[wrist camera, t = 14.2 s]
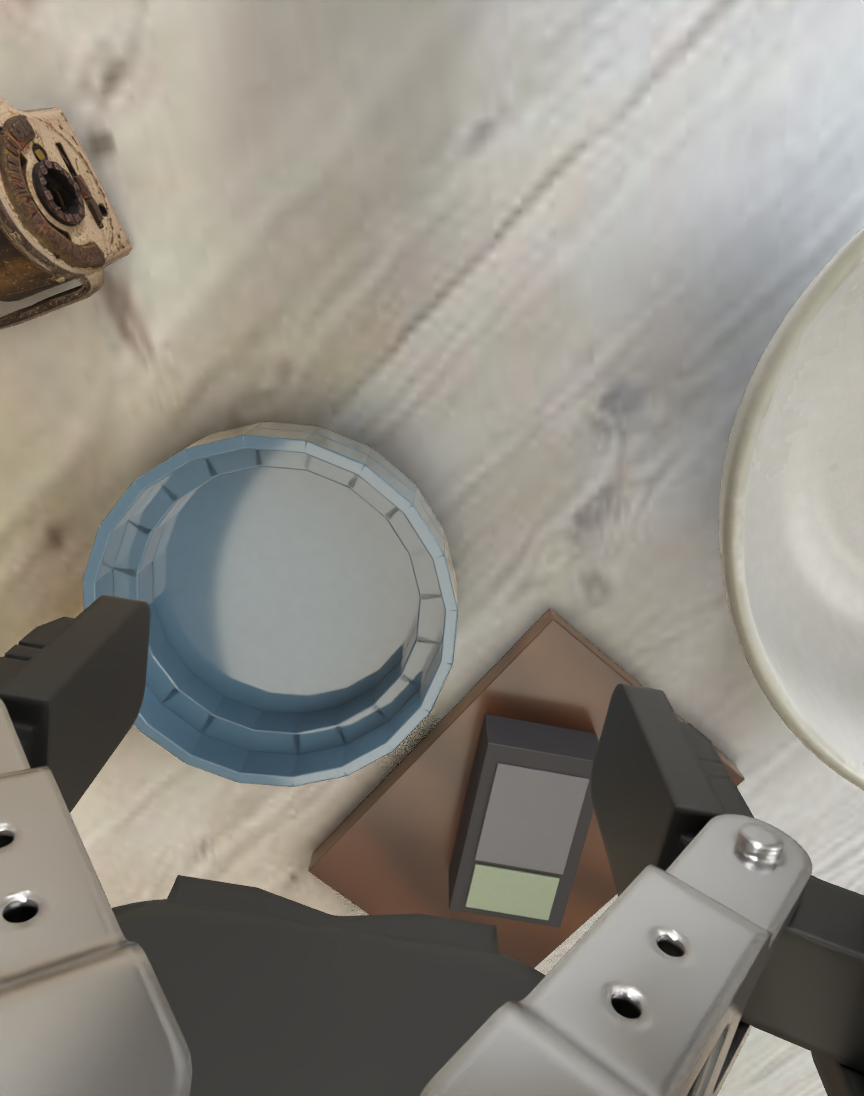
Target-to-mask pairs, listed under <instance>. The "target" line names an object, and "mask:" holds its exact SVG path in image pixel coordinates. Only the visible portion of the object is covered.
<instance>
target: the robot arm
mask: <svg viewBox="0 0 864 1096" xmlns="http://www.w3.org/2000/svg"><path fill="white" fill-rule="evenodd" d="M150 621H151V611H150V606H149V603H148V602H144V601H138V600H132V599H126V598H120V597H114V596H108V595H101V596H100V597H98V598H97V599H96V600H95V601H94V602H93V603H92V604H91V605H90V606H88V607H87V608H86V609H85V610H84V611H83V612H82V613H81V614H80V615H79V616H77V617H76V618H75V619H74V618H68V617H62V618H60V619H57V620H54V621H52V622H49V623H46V624H44V625H41V626H39V627H36V628H35V629H34V630H33V631H31V632H30V633H29V634H28V635H27V636H25V637H24V638H23V639H22V640H21V641H20V642H19V645H15V646H14V647H12V648H11V649H10V650H9V651H8V652H6V653H5V656H4V657H1V658H0V1096H717V1095H718V1093H719V1091H720V1089H721V1087H722V1085H723V1083H724V1081H725V1079H726V1077H727V1075H728V1073H729V1071H730V1069H731V1068H732V1066H733V1064H734V1062H735V1060H736V1058H737V1056H738V1054H739V1052H740V1050H741V1048H742V1046H743V1044H744V1042H745V1041H746V1039H747V1037H748V1035H749V1032H750V1030H751V1027H752V1026H753V1027H756V1028H758V1029H760V1030H763V1031H765V1032H768V1033H770V1034H772V1035H775V1036H777V1037H779V1038H782V1039H784V1040H786V1041H789V1042H791V1043H794V1044H796V1045H798V1046H801V1047H803V1048H805V1049H808V1050H810V1051H811V1053H812V1057H813V1060H814V1063H815V1066H816V1068H817V1070H818V1073H819V1075H820V1078H821V1080H822V1083H823V1085H824V1088H825V1090H826V1093H827V1095H828V1096H864V895H861V894H858V893H855V892H853V891H850V890H847V889H844V888H842V887H839V886H836V885H833V884H831V883H828V882H826V881H823V880H821V879H818V878H816V877H814V876H812V875H811V872H812V863H811V860H810V858H809V856H808V854H807V853H806V851H805V850H804V849H803V848H802V847H801V846H800V845H799V844H798V843H797V842H796V841H795V840H794V839H793V838H791V837H790V836H789V835H787V834H786V833H784V832H783V831H781V830H779V829H778V828H776V827H774V826H772V825H770V824H768V823H766V822H763V821H760V820H758V819H755V818H754V817H753V815H752V813H751V811H750V810H749V808H748V806H747V804H746V803H745V801H744V799H743V797H742V796H741V794H740V792H739V790H738V789H737V787H736V785H735V783H734V782H733V780H730V774H729V773H728V771H727V769H726V767H725V766H724V764H721V761H722V760H721V759H720V757H719V755H718V753H717V752H716V750H715V748H714V746H713V745H712V743H711V741H709V740H708V739H707V738H706V737H705V736H704V735H702V734H701V733H700V732H699V731H698V730H697V729H696V728H694V727H693V726H692V725H691V724H690V723H684V722H679V720H678V718H677V716H676V714H675V713H674V711H673V709H672V707H671V705H670V703H669V701H668V699H667V697H666V695H665V694H664V692H663V691H661V690H656V689H650V688H644V687H638V686H632V685H626V684H618V685H617V686H616V687H615V689H614V691H613V694H612V696H611V700H610V703H609V707H608V711H607V714H606V718H605V722H604V725H603V729H602V733H601V736H600V740H599V744H598V747H597V751H596V754H595V758H594V762H593V767H592V773H591V798H592V803H593V806H594V810H595V814H596V817H597V821H598V824H599V828H600V832H601V835H602V839H603V843H604V846H605V850H606V853H607V857H608V861H609V864H610V868H611V872H612V875H613V879H614V883H615V886H616V890H617V893H618V898H617V899H616V900H615V901H614V902H613V903H612V905H611V906H610V907H609V908H608V909H607V910H606V911H605V912H604V913H603V914H602V915H601V916H600V918H599V919H598V920H597V921H596V922H595V923H594V924H593V925H592V926H591V927H590V928H589V929H588V931H587V932H586V933H585V934H584V935H583V936H582V937H581V938H580V939H579V940H578V941H577V943H576V944H575V945H574V946H573V947H572V948H571V949H570V950H569V951H568V952H567V953H566V954H565V956H564V957H563V958H562V959H561V960H560V961H559V962H558V963H557V964H556V965H555V966H554V967H553V969H552V970H551V971H550V972H549V973H548V974H547V975H546V976H545V975H543V974H542V973H540V972H539V971H537V970H535V969H534V968H532V967H530V966H529V965H527V964H525V963H523V962H521V961H519V960H517V959H515V958H513V957H511V956H509V955H506V954H504V953H501V952H498V941H497V927H496V925H489V924H483V923H477V922H470V921H464V920H458V919H451V918H445V917H439V916H432V915H426V914H420V913H416V914H391V915H366V916H334V915H330V914H327V913H324V912H321V911H319V910H316V909H313V908H311V907H308V906H305V905H302V904H300V903H297V902H294V901H292V900H289V899H286V898H283V897H281V896H278V895H275V894H273V893H270V892H267V891H265V890H262V889H259V888H256V887H249V886H243V885H237V884H230V883H224V882H218V881H211V880H205V879H199V878H193V877H186V876H180V875H178V876H177V878H176V881H175V883H174V885H173V887H172V889H171V892H170V894H169V896H168V898H167V899H163V900H151V901H144V902H136V903H131V904H127V905H122V906H118V907H114V908H111V906H110V904H109V902H108V899H107V897H106V895H105V892H104V890H103V888H102V886H101V883H100V881H99V879H98V876H97V874H96V872H95V870H94V867H93V865H92V863H91V861H90V858H89V856H88V854H87V851H86V849H85V847H84V845H83V842H82V840H81V838H80V835H79V833H78V831H77V829H76V826H75V824H74V822H73V819H72V817H71V815H70V812H71V811H72V810H73V808H74V807H75V805H76V804H77V803H78V801H79V800H80V798H81V797H82V796H83V794H84V793H85V791H86V790H87V789H88V787H89V786H90V784H91V783H92V782H93V780H94V779H95V777H96V776H97V774H98V773H99V772H100V770H101V769H102V767H103V766H104V765H105V763H106V762H107V760H108V759H109V758H110V756H111V755H112V753H113V752H114V751H115V749H116V748H117V746H118V745H119V744H120V742H121V741H122V739H123V738H124V737H125V735H126V734H127V732H128V731H129V729H130V728H131V727H132V725H133V724H134V722H135V720H136V718H137V716H138V714H139V711H140V709H141V705H142V702H143V698H144V693H145V685H146V673H147V660H148V647H149V634H150Z"/></svg>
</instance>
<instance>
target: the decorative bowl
mask: <svg viewBox="0 0 864 1096" xmlns="http://www.w3.org/2000/svg"><path fill="white" fill-rule="evenodd" d="M719 550H720V559H721V568H722V576H723V582H724V587H725V592H726V597H727V602H728V607H729V610H730V613H731V617H732V620H733V624H734V627H735V630H736V634H737V637H738V639H739V642H740V644H741V647H742V649H743V652H744V654H745V657H746V659H747V662H748V664H749V666H750V668H751V670H752V672H753V674H754V676H755V678H756V680H757V682H758V684H759V685H760V687H761V689H762V690H763V692H764V693H765V695H766V697H767V698H768V700H769V701H770V703H771V705H772V706H773V708H774V709H775V710H776V712H777V713H778V714H779V716H780V717H781V718H782V719H783V721H784V722H785V723H786V725H787V726H788V727H789V729H790V730H791V731H792V732H793V733H794V734H795V735H796V736H797V737H798V738H799V740H800V741H801V742H802V743H803V744H804V745H805V746H806V747H807V748H808V749H809V750H810V751H812V752H813V753H814V754H815V755H816V756H817V757H818V758H819V759H820V760H821V761H822V762H824V763H825V764H826V765H828V766H829V767H830V768H832V769H833V770H834V771H835V772H837V773H838V774H839V775H841V776H842V777H844V778H845V779H847V780H848V781H850V782H851V783H853V784H855V785H856V786H858V787H859V788H861V789H862V790H864V227H863V228H861V229H860V230H859V231H858V232H857V233H856V234H855V235H854V236H853V237H852V238H851V239H850V240H849V241H848V242H847V243H846V244H845V245H844V246H843V247H842V248H841V249H840V250H839V251H838V252H837V253H836V254H835V255H834V256H833V257H832V258H831V260H830V261H829V262H828V263H827V264H826V265H825V267H824V268H823V269H822V270H821V271H820V272H819V273H818V275H817V276H816V277H815V278H814V279H813V280H812V282H811V283H810V284H809V285H808V286H807V288H806V289H805V290H804V292H803V293H802V294H801V296H800V297H799V298H798V300H797V301H796V302H795V304H794V305H793V306H792V308H791V309H790V310H789V312H788V313H787V315H786V316H785V318H784V319H783V321H782V323H781V324H780V326H779V327H778V329H777V330H776V332H775V333H774V335H773V336H772V338H771V340H770V342H769V344H768V345H767V347H766V349H765V351H764V353H763V354H762V356H761V358H760V360H759V362H758V364H757V366H756V368H755V370H754V372H753V374H752V377H751V379H750V381H749V383H748V385H747V387H746V390H745V393H744V395H743V398H742V401H741V403H740V406H739V409H738V411H737V414H736V418H735V421H734V424H733V428H732V431H731V434H730V438H729V442H728V447H727V452H726V456H725V461H724V466H723V473H722V481H721V488H720V503H719Z"/></svg>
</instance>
